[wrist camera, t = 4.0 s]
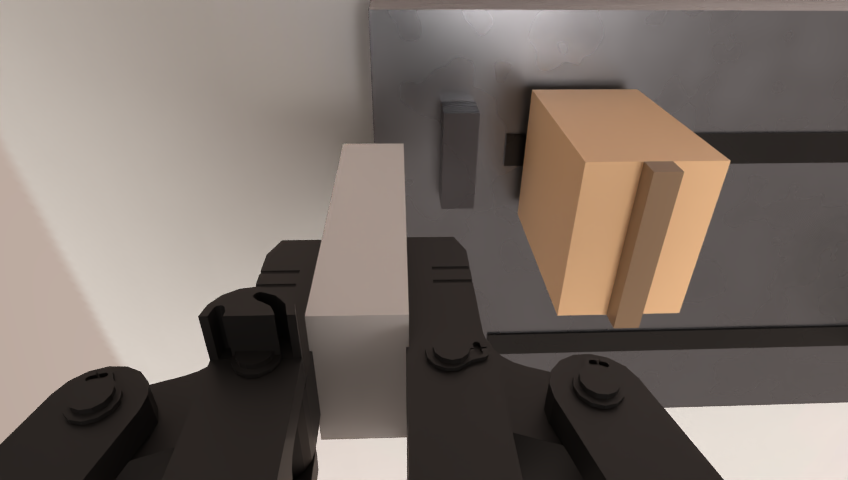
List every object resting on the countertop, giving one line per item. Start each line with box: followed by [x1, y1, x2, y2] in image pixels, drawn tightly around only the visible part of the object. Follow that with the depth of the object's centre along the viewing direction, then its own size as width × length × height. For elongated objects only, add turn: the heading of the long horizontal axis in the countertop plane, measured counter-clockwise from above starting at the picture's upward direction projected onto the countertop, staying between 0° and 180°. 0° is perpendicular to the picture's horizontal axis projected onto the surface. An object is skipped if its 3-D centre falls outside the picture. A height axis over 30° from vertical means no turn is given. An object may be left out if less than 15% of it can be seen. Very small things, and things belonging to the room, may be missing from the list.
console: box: [369, 0, 848, 408], centre depth 19 cm, size 16×28×3 cm, turn 89°
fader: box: [518, 89, 730, 328], centre depth 14 cm, size 4×3×6 cm
